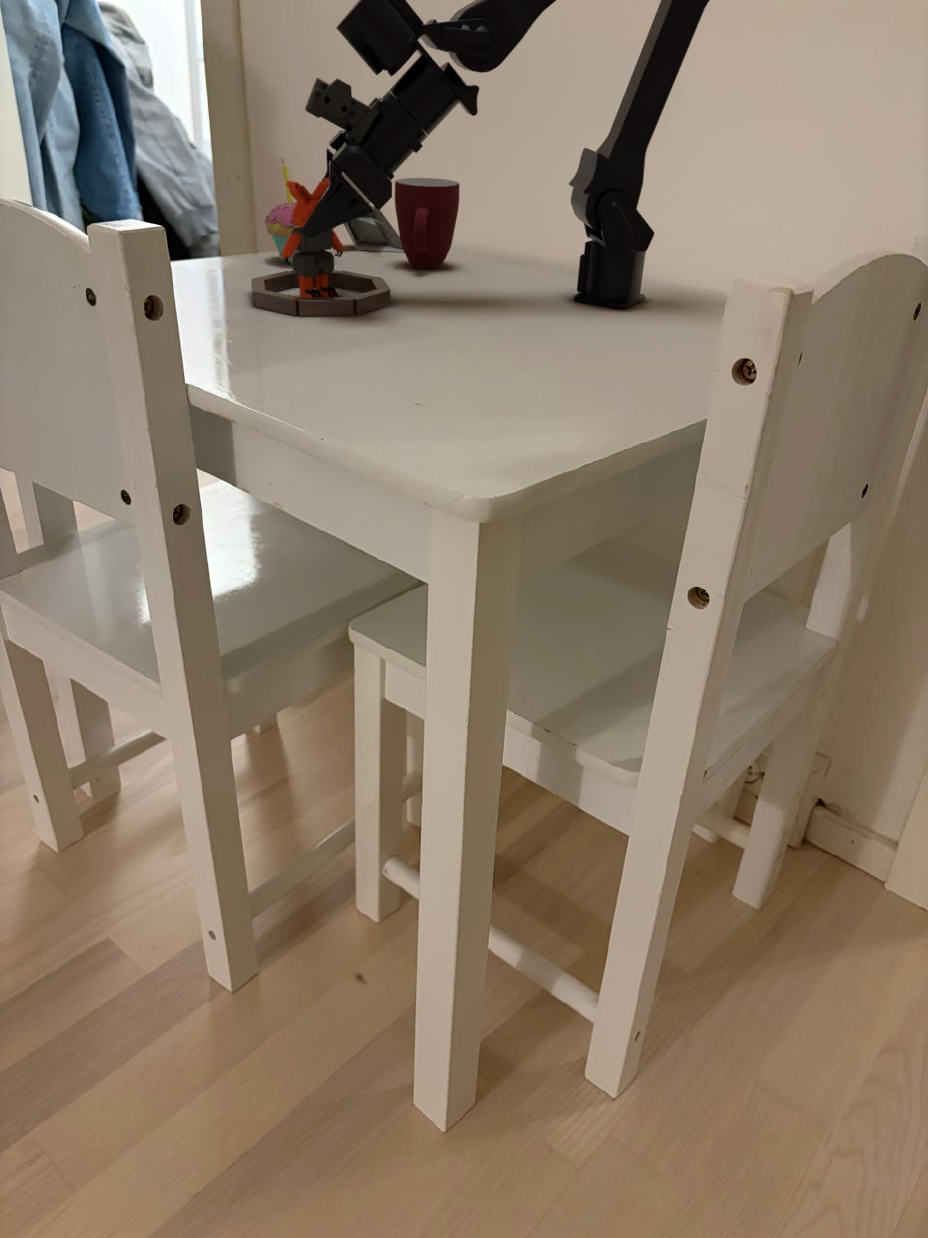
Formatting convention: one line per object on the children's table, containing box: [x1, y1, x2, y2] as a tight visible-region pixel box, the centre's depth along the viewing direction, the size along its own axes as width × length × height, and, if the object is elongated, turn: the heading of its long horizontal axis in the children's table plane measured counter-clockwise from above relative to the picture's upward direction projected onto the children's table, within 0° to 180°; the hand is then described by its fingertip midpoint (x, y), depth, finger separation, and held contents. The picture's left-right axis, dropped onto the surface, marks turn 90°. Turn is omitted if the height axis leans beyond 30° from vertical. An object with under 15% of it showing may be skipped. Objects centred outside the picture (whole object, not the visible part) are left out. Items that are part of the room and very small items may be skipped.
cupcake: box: [264, 157, 335, 266], centre depth 120 cm, size 9×8×12 cm
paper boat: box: [343, 205, 404, 253], centre depth 129 cm, size 12×6×9 cm
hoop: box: [250, 269, 391, 317], centre depth 105 cm, size 15×15×2 cm
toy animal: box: [281, 178, 345, 298], centre depth 103 cm, size 8×6×12 cm
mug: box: [394, 177, 460, 270], centre depth 120 cm, size 11×8×10 cm
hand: (304, 226), depth 102 cm, fingers open, 9 cm apart
